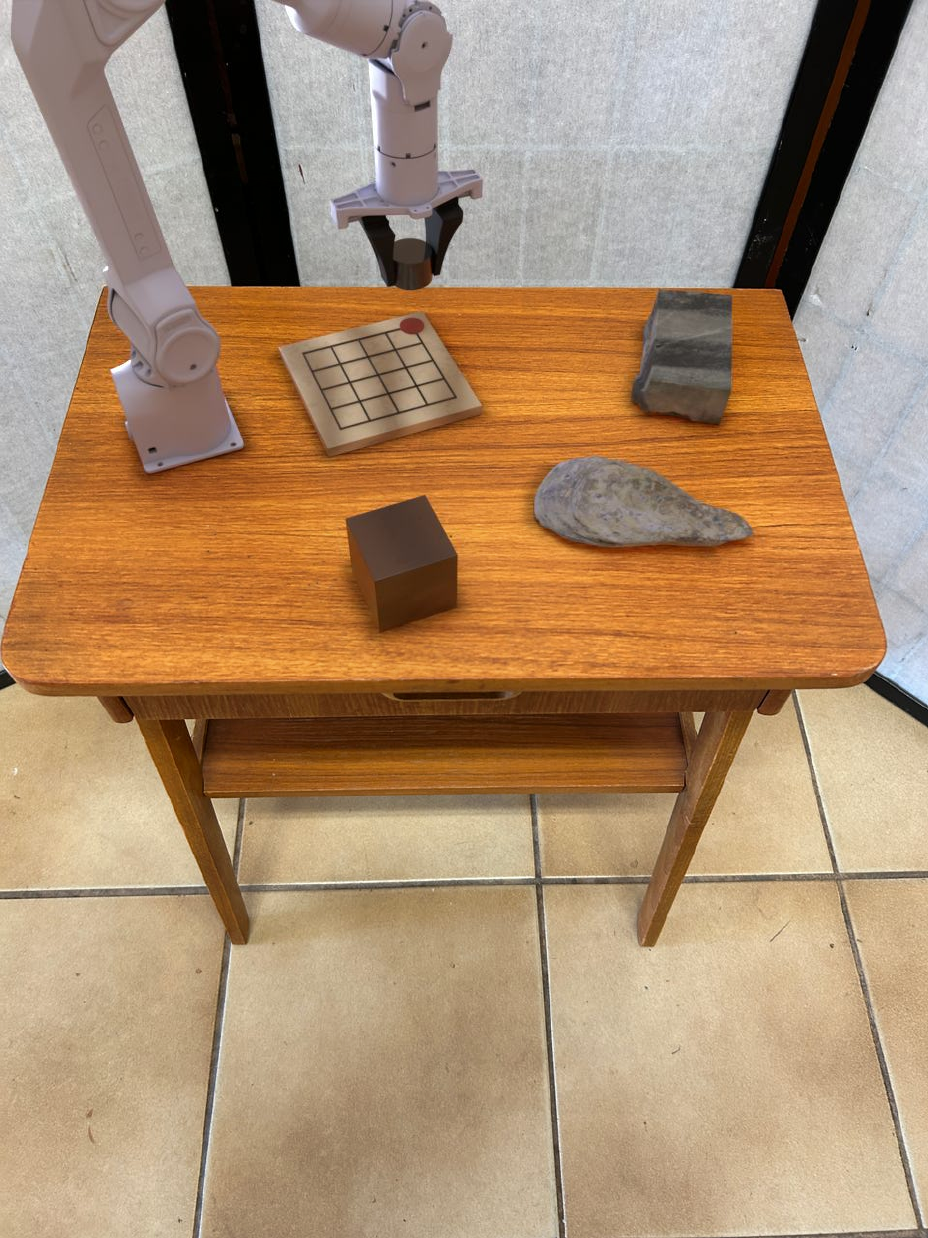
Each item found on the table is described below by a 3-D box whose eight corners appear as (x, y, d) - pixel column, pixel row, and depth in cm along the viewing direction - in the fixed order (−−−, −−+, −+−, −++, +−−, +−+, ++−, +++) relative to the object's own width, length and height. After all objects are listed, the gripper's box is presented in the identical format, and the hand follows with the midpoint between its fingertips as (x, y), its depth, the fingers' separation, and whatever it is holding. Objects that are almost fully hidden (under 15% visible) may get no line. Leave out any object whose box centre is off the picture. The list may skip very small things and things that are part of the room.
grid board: (328, 457, 91) (327, 447, 90) (280, 355, 99) (278, 345, 98) (481, 414, 95) (482, 404, 94) (422, 320, 103) (422, 309, 102)
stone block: (629, 416, 95) (638, 375, 91) (638, 326, 103) (645, 284, 99) (720, 427, 94) (732, 386, 90) (721, 335, 102) (732, 293, 98)
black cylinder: (398, 294, 94) (397, 267, 92) (382, 269, 96) (381, 243, 94) (439, 284, 95) (439, 257, 93) (423, 260, 97) (422, 233, 95)
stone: (740, 587, 85) (741, 501, 91) (754, 564, 82) (755, 476, 87) (526, 546, 85) (540, 462, 91) (533, 521, 82) (546, 436, 88)
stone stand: (379, 633, 79) (374, 581, 73) (352, 571, 83) (345, 518, 77) (457, 607, 81) (458, 554, 75) (426, 548, 85) (425, 494, 79)
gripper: (342, 181, 81) (355, 315, 92) (498, 148, 84) (492, 281, 95) (317, 140, 84) (332, 274, 96) (467, 110, 88) (464, 243, 99)
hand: (410, 275), depth 96 cm, fingers closed on black cylinder, 4 cm apart
